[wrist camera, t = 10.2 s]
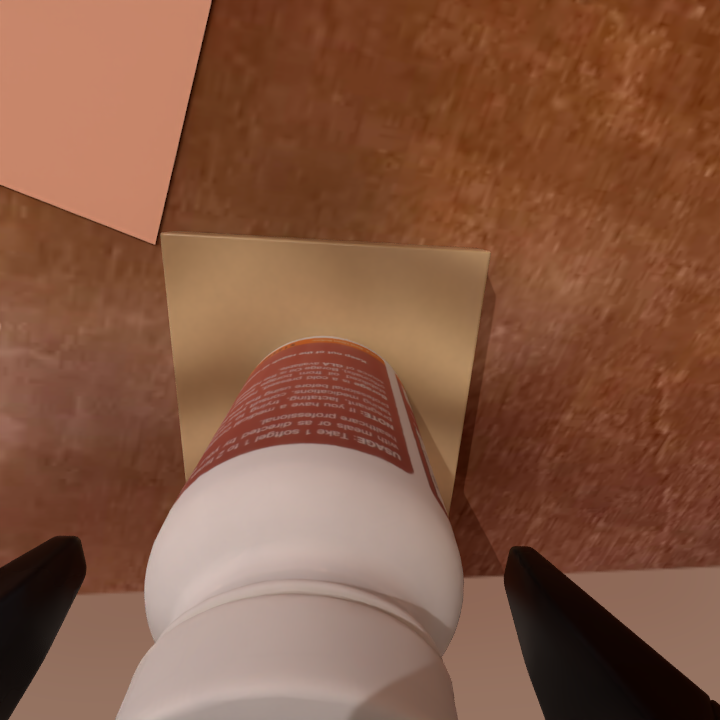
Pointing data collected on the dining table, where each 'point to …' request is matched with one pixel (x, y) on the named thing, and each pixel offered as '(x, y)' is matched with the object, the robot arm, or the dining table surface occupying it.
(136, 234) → the pink tile
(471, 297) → the cutting board
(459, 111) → the dining table surface
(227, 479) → the pill bottle
